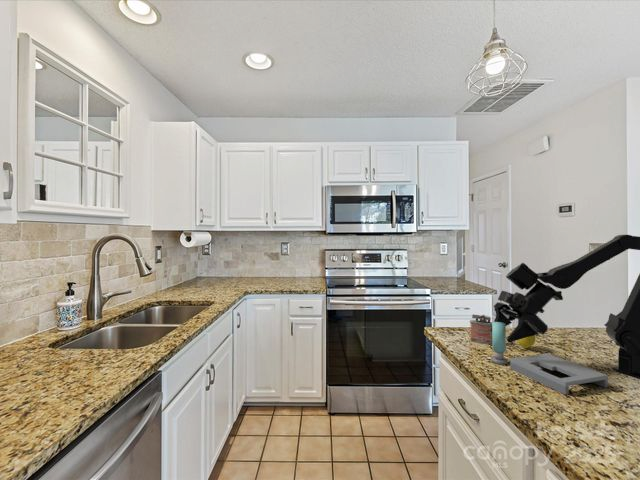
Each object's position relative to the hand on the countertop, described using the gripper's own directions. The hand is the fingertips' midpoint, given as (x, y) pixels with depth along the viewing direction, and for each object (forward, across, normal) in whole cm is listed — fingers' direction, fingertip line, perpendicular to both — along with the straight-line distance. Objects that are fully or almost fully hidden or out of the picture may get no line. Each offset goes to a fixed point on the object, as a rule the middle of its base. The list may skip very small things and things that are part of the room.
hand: (499, 336), depth 97 cm
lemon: (-5, -11, +17) cm, 21 cm away
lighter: (+3, -19, +9) cm, 21 cm away
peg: (+6, 0, +6) cm, 8 cm away
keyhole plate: (-1, +11, +12) cm, 16 cm away
